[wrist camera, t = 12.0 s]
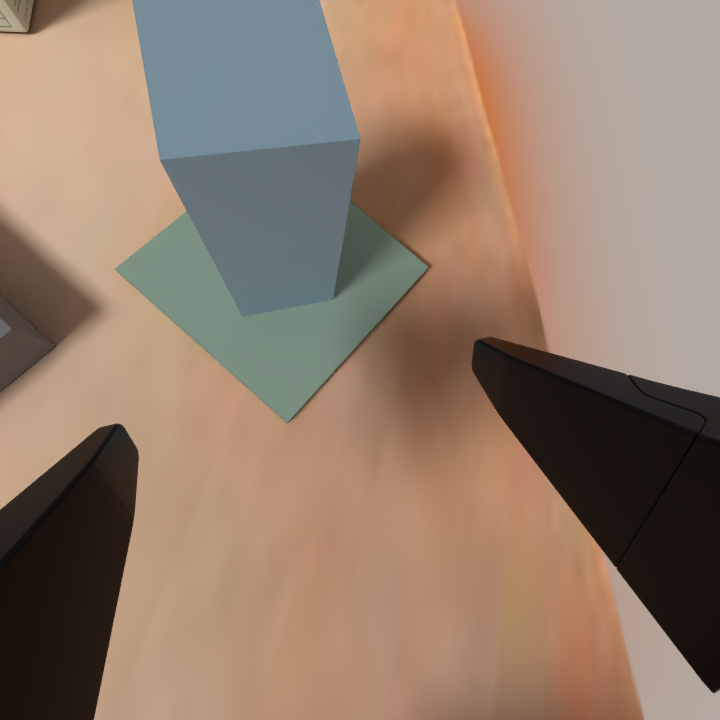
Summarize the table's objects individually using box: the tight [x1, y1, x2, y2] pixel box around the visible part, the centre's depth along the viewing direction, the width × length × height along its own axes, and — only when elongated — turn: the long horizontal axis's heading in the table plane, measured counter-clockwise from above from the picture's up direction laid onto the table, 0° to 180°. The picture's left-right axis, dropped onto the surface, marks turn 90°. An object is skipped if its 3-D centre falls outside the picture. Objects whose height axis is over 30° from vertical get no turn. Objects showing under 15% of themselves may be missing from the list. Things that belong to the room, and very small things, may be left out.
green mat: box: [115, 201, 428, 423], centre depth 18 cm, size 11×11×1 cm
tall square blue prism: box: [132, 0, 360, 317], centre depth 13 cm, size 4×4×10 cm
